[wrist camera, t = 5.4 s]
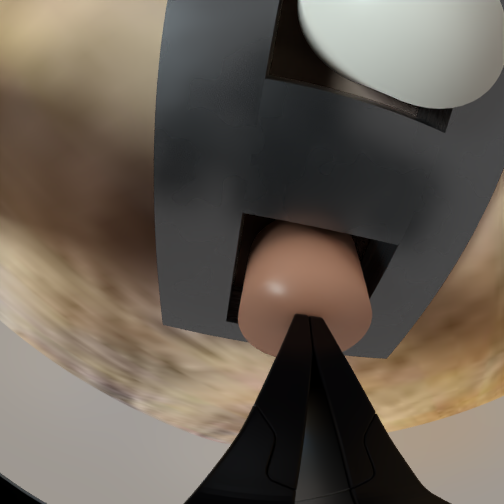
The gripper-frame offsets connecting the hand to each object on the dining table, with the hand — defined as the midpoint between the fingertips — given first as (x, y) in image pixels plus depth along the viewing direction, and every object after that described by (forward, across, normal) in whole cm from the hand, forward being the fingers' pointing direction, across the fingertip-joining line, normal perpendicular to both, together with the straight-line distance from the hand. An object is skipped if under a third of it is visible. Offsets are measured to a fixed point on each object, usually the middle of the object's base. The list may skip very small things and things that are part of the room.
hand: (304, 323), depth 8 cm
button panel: (+4, 0, -8) cm, 9 cm away
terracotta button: (+3, 0, 0) cm, 3 cm away
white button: (+2, 0, -9) cm, 9 cm away
